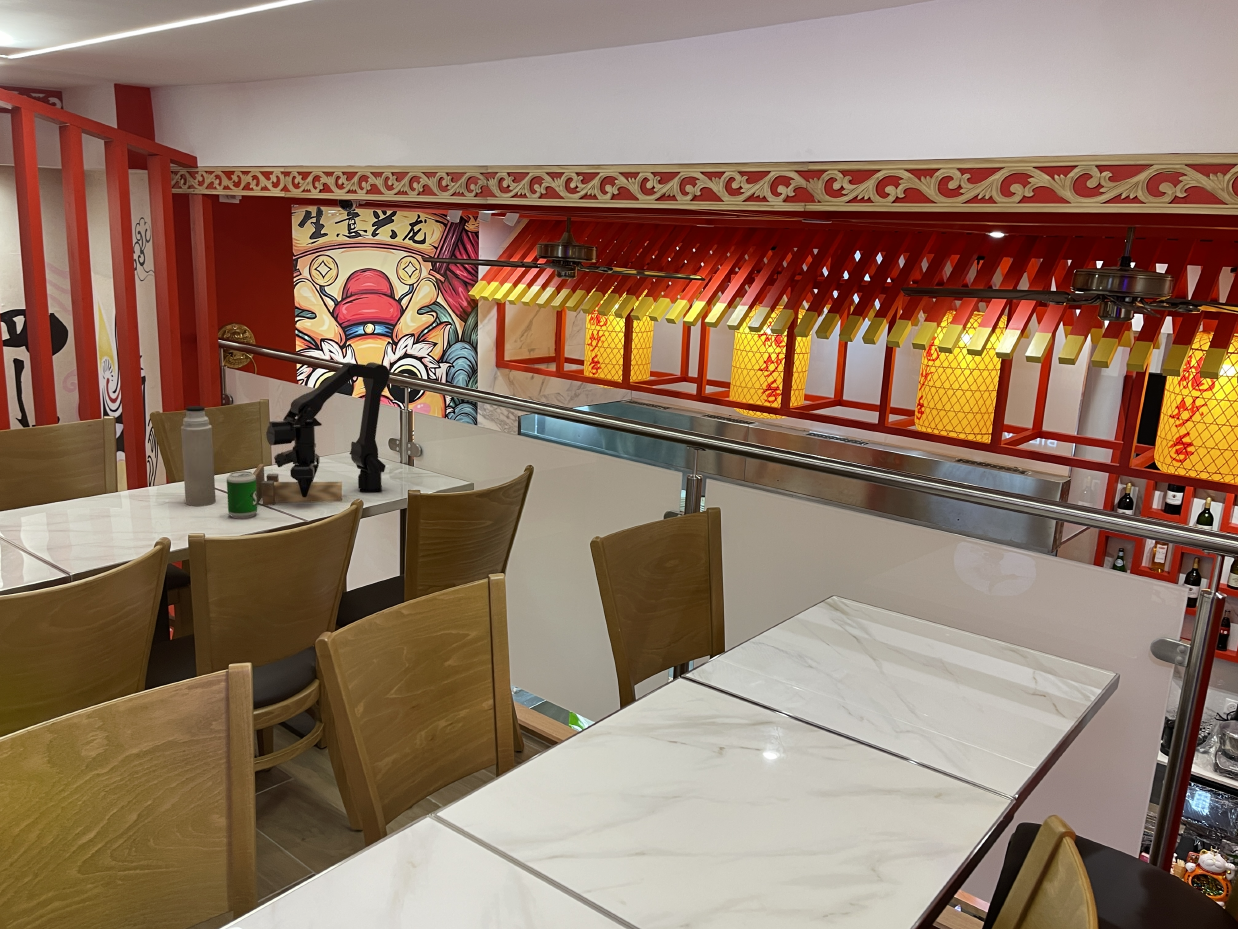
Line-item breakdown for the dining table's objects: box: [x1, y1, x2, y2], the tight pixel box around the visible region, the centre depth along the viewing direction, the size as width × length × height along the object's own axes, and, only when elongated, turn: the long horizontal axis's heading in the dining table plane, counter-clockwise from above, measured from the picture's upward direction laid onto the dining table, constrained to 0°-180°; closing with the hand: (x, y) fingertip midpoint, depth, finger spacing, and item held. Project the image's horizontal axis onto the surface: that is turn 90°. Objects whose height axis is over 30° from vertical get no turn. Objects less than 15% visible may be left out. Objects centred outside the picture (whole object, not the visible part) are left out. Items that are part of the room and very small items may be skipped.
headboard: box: [252, 463, 280, 506], centre depth 278 cm, size 6×16×9 cm, turn 11°
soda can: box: [226, 470, 258, 519], centre depth 261 cm, size 8×8×12 cm
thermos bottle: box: [180, 405, 217, 507], centre depth 270 cm, size 8×8×28 cm
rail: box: [274, 481, 343, 503], centre depth 280 cm, size 21×4×5 cm, turn 101°
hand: (306, 493), depth 281 cm, fingers open, 9 cm apart
